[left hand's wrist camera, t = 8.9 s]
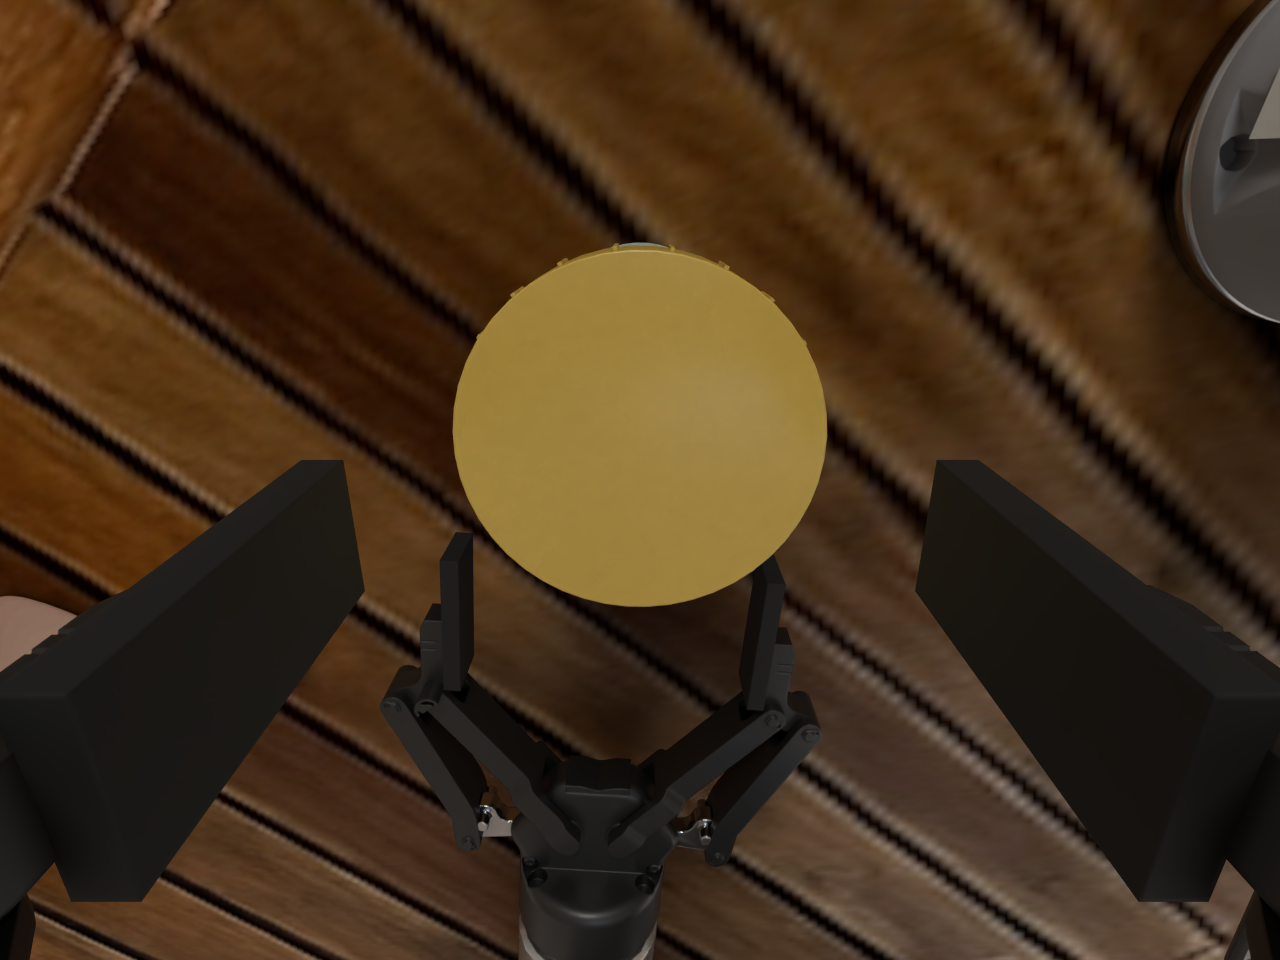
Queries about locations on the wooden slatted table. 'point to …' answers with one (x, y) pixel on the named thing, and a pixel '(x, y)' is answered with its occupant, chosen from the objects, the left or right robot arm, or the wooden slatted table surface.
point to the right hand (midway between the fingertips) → (614, 556)
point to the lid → (640, 426)
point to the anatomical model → (26, 626)
